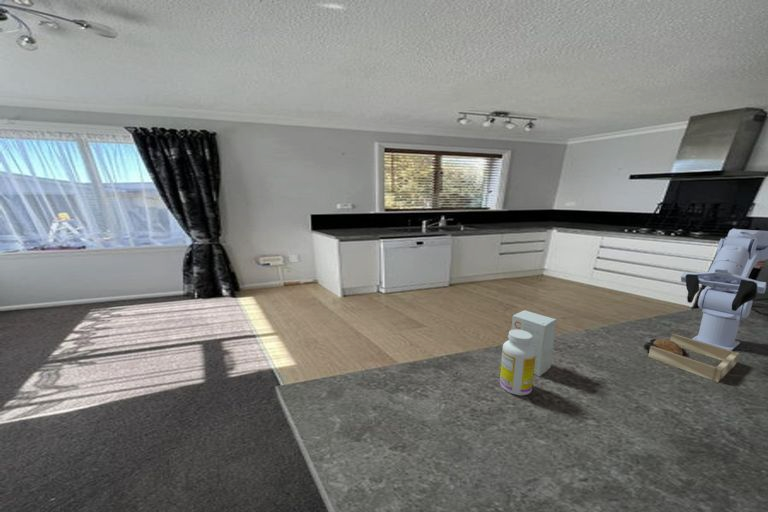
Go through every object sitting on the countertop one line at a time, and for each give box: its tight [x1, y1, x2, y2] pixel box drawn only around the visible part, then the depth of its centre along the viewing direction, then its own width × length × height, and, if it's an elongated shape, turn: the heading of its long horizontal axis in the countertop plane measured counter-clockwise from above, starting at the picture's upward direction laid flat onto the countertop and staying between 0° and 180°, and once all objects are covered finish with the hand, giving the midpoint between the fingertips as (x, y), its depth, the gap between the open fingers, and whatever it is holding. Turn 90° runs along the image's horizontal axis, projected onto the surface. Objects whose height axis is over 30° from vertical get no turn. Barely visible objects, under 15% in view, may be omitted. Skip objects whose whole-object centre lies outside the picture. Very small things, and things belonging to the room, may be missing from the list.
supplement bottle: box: [499, 329, 536, 396], centre depth 66 cm, size 7×7×13 cm
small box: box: [511, 309, 557, 377], centre depth 75 cm, size 8×6×13 cm
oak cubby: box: [648, 333, 740, 383], centre depth 79 cm, size 16×13×3 cm
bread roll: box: [643, 338, 687, 357], centre depth 84 cm, size 11×8×4 cm
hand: (710, 303), depth 75 cm, fingers open, 7 cm apart
